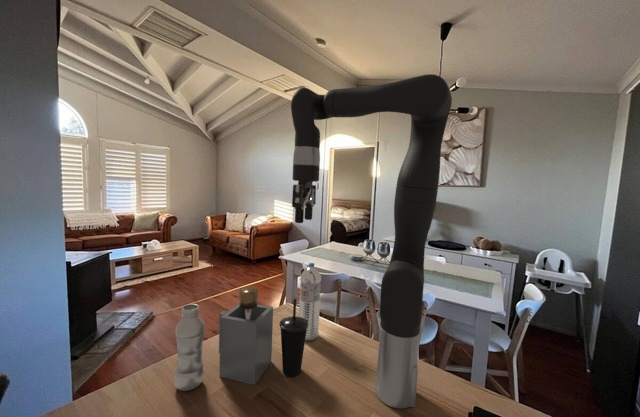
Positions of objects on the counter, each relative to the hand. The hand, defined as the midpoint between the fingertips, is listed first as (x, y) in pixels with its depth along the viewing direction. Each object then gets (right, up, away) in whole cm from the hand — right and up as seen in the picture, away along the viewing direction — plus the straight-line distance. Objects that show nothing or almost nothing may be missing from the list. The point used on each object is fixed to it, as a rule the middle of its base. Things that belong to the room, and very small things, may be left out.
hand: (303, 221), depth 81 cm
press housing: (-17, -40, -4) cm, 43 cm away
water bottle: (+1, -39, +13) cm, 42 cm away
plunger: (-15, -38, -4) cm, 42 cm away
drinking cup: (-3, -41, -4) cm, 41 cm away
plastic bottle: (-28, -40, -11) cm, 50 cm away
